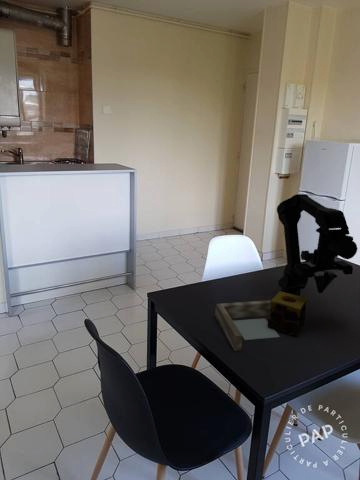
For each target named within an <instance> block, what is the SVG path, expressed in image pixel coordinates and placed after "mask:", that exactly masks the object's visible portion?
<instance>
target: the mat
mask: <svg viewBox="0 0 360 480" xmlns="http://www.w3.org/2000/svg"><path fill="white" fill-rule="evenodd" d="M233 322H234V323H235V325H236V326H237V328H238V330H239V331H240V333H241V334H242V339H243V340H244V341H249V340H250V341H253V340H260V339H261V340H264V339H274V338H281V336H280V335H279V334H278V332H277V330H274V329H271V328H268V326H267V325H268V319H266V318H254V319H253V318H252V319H241V320H239V319H237V320H233Z"/></svg>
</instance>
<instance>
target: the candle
mask: <svg viewBox="0 0 360 480" xmlns="http://www.w3.org/2000/svg"><path fill="white" fill-rule="evenodd" d="M270 302H271V309H270V315H269V316H268V318H267V322H268V325H267V326H268V328H271V329H274V330H275V331H276V332H277V331H278V332H281V333H285V334H287V335H288V334H289V335H291V336H294V337H298V335H299V334H300V332H301V330H302V328H303V326H304V325H305V320H306V312H307V311H306V310H307V302H308V298H307V297H303V296H301V295H300V296H297V295H293V294H289V293H285V292H281V290H280V291H278V292H277V294H276V295H275V296H274V297H273V298H272V299H270Z"/></svg>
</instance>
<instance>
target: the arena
mask: <svg viewBox="0 0 360 480" xmlns="http://www.w3.org/2000/svg"><path fill="white" fill-rule="evenodd" d="M270 309H271V299H270V300H258V301H257V300H254V301H240V302H227V303H224V302H223V303H215V313H214V316H215V319H216V321H217V322H218V324H219V326H220V328H221V329H222V331H223V333H224V334H225V336H226V338H227V340H228V342H229V343H230V345H231V346H232V348H233V351H242V347H243V346H242V344H243V337H242V334H241V333H240V331H239V330H238V328H237V326H236V325H235V323H234V322H233V321H234V320H233V319H240V318H241V319H243V318H256V317H269V315H270Z"/></svg>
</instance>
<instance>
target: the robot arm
mask: <svg viewBox="0 0 360 480" xmlns="http://www.w3.org/2000/svg"><path fill="white" fill-rule="evenodd" d="M302 212H305V213H306V214H308V215H309V216H311V217H313V218H314V223H316V225H317V226H318V228H316V230H315V232H316V233H319V234H318V242H317V247H316V248H314V250H313V252H310V251H309V250H300V248H301V247H300V239H299V238H300V237H299V231H298V230H299V229H298V223H299V221H300V220H301V217H302V215H301V214H302ZM276 213H277V217H278V220H279V222H280V223H281V224H282V226H283V231H284V233H283V234H284V242H285V243H284V244H285V254H286V262H287V263H286V265H285V267H284V269H283V276H282V277H281V278H280V279H278V282H277V283H278V287H280V288H281V290H280V291H281V292H285V293H289V294H293V295H297V296H301V291H302V290H305V289H306V286H307V284H308V281H309V278H314V281H315V285H316V289H317V292H318V294H323V292H324V291H325V290H326V288H328V286H330V284H331V283H332V281H333V280H335V278H338V275H337V274H336V272H337V271H342V273H343V275H353V272H354V268H353V265H351V264H350V263H348V262H346V261H344V260H350V259H353V258H354V256H356V254H357V252H358V246H357V243H356V242H355V241H354V236H351V235H350V230H349V229H350V228H349V226H348V223H347V219H346V217H345V214H344V212H343V211H342V210H341V209H340V210H339V209H336V208H332V207H331V208H330V207H326V206H324V205H323V204H321V203H319V202H318V201H316V200H314V199H313V198H312V197H309V195H308V194H305V193H302V194H300V193H299V194H294V195H292V196H291V197H290V198H287V199H285V200H283V201H281V202H280V203H279V204H278V206H277V207H276ZM339 257H340V258H342V259H344V260H335V259H336V258H339ZM302 261H305V263H302ZM307 263H310V265H309V264H307ZM311 265H312V266H311ZM313 265H314V266H313Z"/></svg>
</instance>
